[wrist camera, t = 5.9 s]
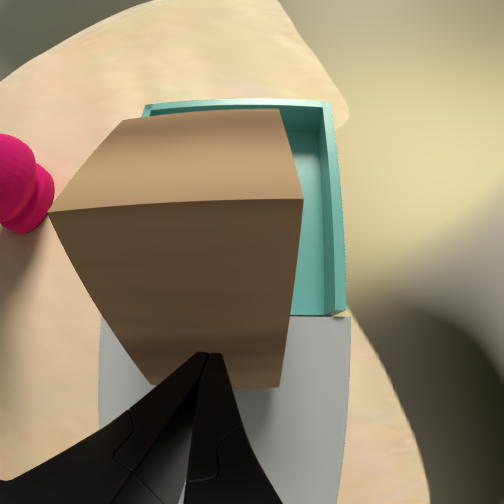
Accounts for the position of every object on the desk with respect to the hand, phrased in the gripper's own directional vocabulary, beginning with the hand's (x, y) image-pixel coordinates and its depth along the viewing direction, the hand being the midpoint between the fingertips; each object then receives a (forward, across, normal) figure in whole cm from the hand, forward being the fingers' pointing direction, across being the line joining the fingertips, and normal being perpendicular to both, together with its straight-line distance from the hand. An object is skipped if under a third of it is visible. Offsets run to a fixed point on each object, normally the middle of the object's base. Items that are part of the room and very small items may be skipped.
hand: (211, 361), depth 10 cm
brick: (+5, -1, -3) cm, 6 cm away
